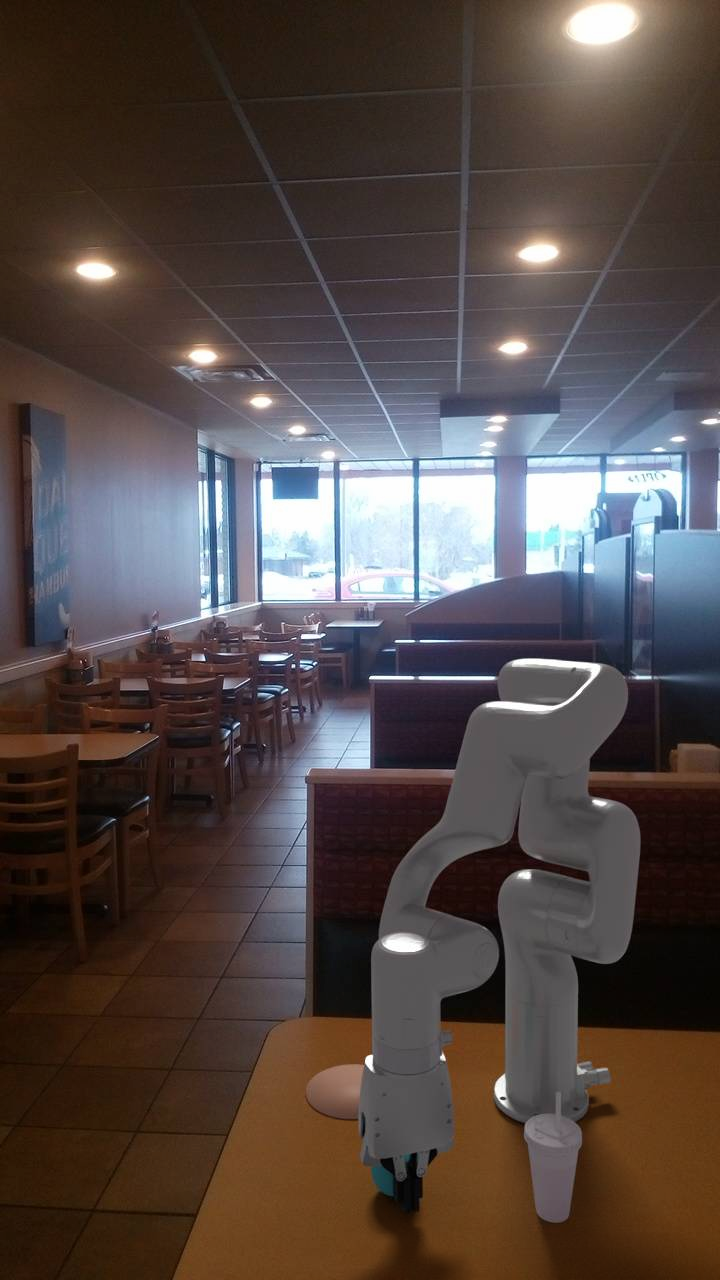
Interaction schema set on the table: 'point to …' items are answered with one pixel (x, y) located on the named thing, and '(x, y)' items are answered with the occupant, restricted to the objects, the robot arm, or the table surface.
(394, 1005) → the robot arm
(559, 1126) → the smoothie
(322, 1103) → the pink flattened dome
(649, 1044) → the table surface
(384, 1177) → the ball
